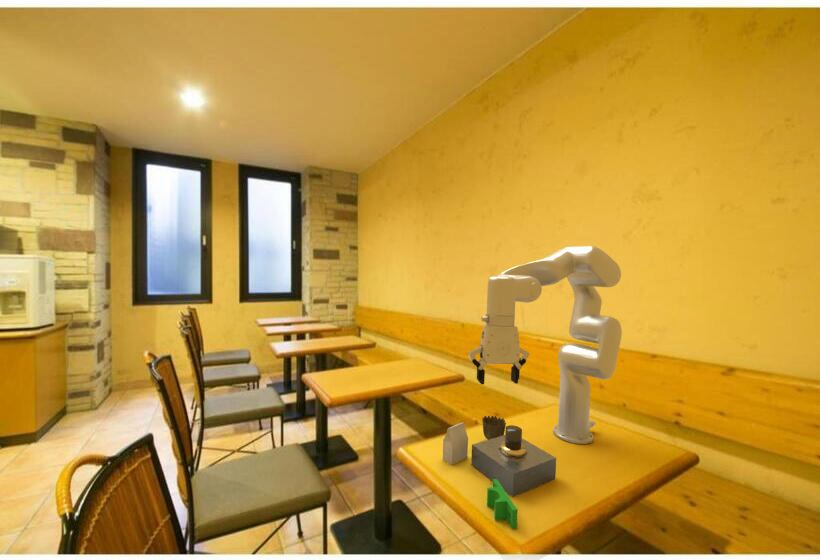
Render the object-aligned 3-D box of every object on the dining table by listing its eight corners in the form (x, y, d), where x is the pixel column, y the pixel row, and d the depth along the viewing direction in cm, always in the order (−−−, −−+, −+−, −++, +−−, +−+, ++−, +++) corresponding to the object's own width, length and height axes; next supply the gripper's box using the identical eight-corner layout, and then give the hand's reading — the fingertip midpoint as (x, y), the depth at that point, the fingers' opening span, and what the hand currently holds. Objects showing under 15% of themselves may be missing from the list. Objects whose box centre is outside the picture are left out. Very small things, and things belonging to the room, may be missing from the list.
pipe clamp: (482, 498, 88) (482, 479, 88) (496, 496, 89) (496, 478, 89) (500, 531, 77) (501, 510, 77) (516, 529, 78) (517, 509, 78)
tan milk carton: (467, 457, 106) (468, 424, 106) (451, 465, 102) (452, 431, 102) (458, 452, 109) (459, 420, 109) (442, 459, 105) (443, 426, 104)
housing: (511, 451, 110) (512, 432, 110) (555, 479, 96) (556, 457, 96) (471, 464, 102) (471, 444, 102) (512, 497, 88) (513, 473, 88)
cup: (505, 451, 110) (506, 426, 110) (481, 448, 111) (482, 423, 111) (504, 440, 117) (505, 416, 117) (481, 437, 119) (482, 414, 118)
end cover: (511, 458, 104) (513, 421, 103) (530, 470, 98) (531, 431, 97) (494, 464, 100) (496, 426, 100) (512, 477, 95) (514, 436, 94)
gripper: (474, 323, 92) (471, 387, 93) (536, 323, 95) (533, 386, 96) (465, 318, 100) (463, 378, 100) (523, 319, 102) (521, 377, 103)
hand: (497, 382), depth 98 cm, fingers open, 9 cm apart
